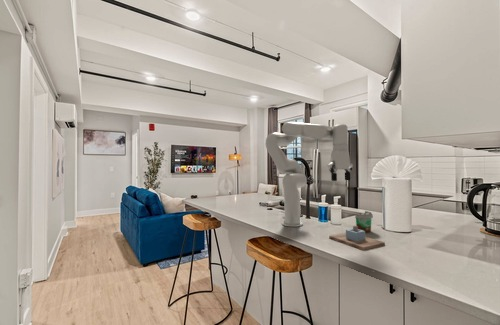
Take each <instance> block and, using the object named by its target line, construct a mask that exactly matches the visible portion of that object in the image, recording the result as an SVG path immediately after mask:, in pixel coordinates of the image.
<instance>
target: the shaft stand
mask: <svg viewBox="0 0 500 325" xmlns="http://www.w3.org/2000/svg"><path fill="white" fill-rule="evenodd" d="M352 229H353V231H354V232H358V226H356V225H353V226H352ZM328 238H329V239H331V240H333V241H336V242H338V243H342V244H344V245H347V246H350V247H353V248H356V249H359V250H361V251H366V250H371V249H374V248H378V247H383V246H385V244H386V243H385V242H386V241H382V240H378V239H374V238H371V237H368V236H365V240H361V241H357V242H356V241H353V240H350V239H347V238H346V232H342V233H337V234H331V235H329V236H328Z"/></svg>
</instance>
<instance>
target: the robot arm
mask: <svg viewBox="0 0 500 325" xmlns="http://www.w3.org/2000/svg"><path fill="white" fill-rule="evenodd" d="M281 131H282V133H279V132H272V133H269V134H268V135H267V137H266V138H265V148H266V151H267V152H268V154H269V155H270V157H271V159H272V161H273V163H274V165H275V167H276V169H277V171H278V172H279V173H280V174H282V175H283V177H282V180H281V181H282V188H283V198H284V200H283V201H284V204H283V205H284V208H283V209H284V215H283V216H282V219H283V221H282V222H281V224H282V226H286V227H291V228H292V227H293V228H294V227H295V228H296V227H302V226H303V224H304V223H303V222H302V221H301V199H300V198H301V197H300V196H301V194H300V192H299V189H301V188H304V187H305V186H306V185H307V182H308V180H307V176H306V174H305V172H304V170H303V169H302V167H301V165H300V164H299V162H298V161H297V160H296V159H294V158H293V159H292V158H288V157H287V156H286V154H285V152H284V151H283V150H282V149H281V147H287V146H289V145H291V143H293V142H294V141H295V140H296V139H297V138H302V139H305V138H310V139H317V140H324V141H332V150H331V153H330V160H329V161H330V162H329V163H328V164H327V169H328V170H329V172H330V175H331V181H332V182H337V180H338V174H337V171H339V170H344V180H345V181H351V173H352V170H353V167H354V164H353V163H352V162H351V158H350V152H349V140H348V139H349V138H348V137H349V136H348V135H349V134H348V133H349V132H348V131H349V130H348V126H347V124H344V123H343V124H340V123H339V124H335V125H333V126H329V125H325V124H314V123H312V124H311V123H306V122H305V123H304V122H296V121H295V122H293V121H286V122H285V123H284V124H283V125H282V126H281Z"/></svg>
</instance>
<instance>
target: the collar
mask: <svg viewBox="0 0 500 325" xmlns="http://www.w3.org/2000/svg"><path fill="white" fill-rule="evenodd" d="M345 233H346V238H347V239H350V240H353V241H356V242H357V241H361V240H365V237H366V233H365V231H363V230H359V229H358V232H354V231H353V228H348V229H345Z"/></svg>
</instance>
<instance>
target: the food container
mask: <svg viewBox="0 0 500 325" xmlns="http://www.w3.org/2000/svg"><path fill="white" fill-rule="evenodd" d="M372 213H373V212H371V211H367V210H365V211H364V212H363V213H355V215H354V216H355V226H358V229H359V230H363V231H365V234H370V233H371V232H372V219H373V217H374V215H373V214H372Z"/></svg>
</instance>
